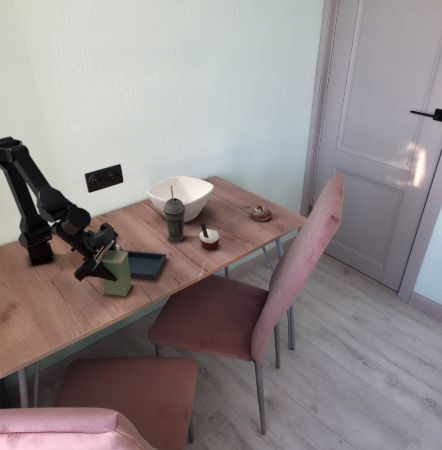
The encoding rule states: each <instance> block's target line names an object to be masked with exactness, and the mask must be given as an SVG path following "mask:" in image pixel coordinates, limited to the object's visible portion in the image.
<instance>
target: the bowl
mask: <svg viewBox="0 0 442 450" xmlns="http://www.w3.org/2000/svg"><path fill="white" fill-rule="evenodd" d="M171 185H172V190H173V198H177V199H179V200H181V201H182V203H183V204H184V207H185V213H184V223H187V222H190V221H192V220H194V219H196V218H197V217H198V216H199V214H201V211H202V209H203V208H204V207H205V206H207V204H208V203H209V200H210V198H211V196H212V194H213V192H214V191H215V185H214V184H213V183H211V182H208V181H206V180H202V179H199V178H196V177H191V176H185V175H174V176H173V175H172V176H171V177H170V176H169V177H167V178H165V179H163V180H161V181H160V180H159V182H156V183H155V184H154V185H152V186H151V187H149V189H148V190H147V191H146V196H147V197H148V199H149V200H150V201H151V202H152V204H153V206H154V207H155V208H156V209H158V210H160V212H161V213H162V214H163V216H164V217H165V214H164V205H165V203H166V202H167V201H168V200H169V199H171V198H172V194H171Z"/></svg>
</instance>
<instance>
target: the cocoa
mask: <svg viewBox="0 0 442 450" xmlns="http://www.w3.org/2000/svg"><path fill="white" fill-rule="evenodd" d="M200 228H201V231H200V233H199V239H200V243H201V246H202V247H203V248H204V249H205V250H214V249H216V248H217V247H218V245H219V241H220V235H219V233H218V231H217V230H214V229H211V228H207V227H206V224H205V223H202V222H200Z"/></svg>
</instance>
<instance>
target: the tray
mask: <svg viewBox="0 0 442 450" xmlns="http://www.w3.org/2000/svg"><path fill="white" fill-rule="evenodd" d="M119 251H125V252H128V261H129V269H130V276H131V279H136V280H146V281H147V280H148V281H157V280H158V277H159V275H160V273H161V271H162V269H163V267H164V265H165V263H166V261H167V253H160V252H159V253H158V252H147V251H137V250H128V249H127V250H125V249H120V250H119Z"/></svg>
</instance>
